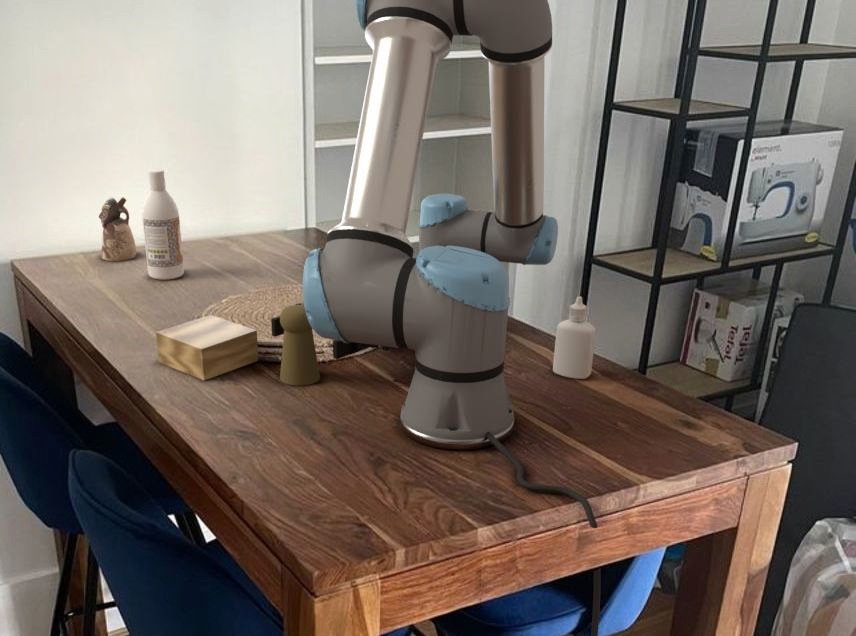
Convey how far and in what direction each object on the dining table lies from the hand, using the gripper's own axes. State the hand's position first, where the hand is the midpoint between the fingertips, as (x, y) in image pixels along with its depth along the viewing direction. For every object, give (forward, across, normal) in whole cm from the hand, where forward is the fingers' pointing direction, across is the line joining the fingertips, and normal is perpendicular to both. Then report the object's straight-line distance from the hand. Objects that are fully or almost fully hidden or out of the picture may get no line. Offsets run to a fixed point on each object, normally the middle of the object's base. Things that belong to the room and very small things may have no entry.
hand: (302, 338), depth 151 cm
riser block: (+6, +15, -6) cm, 17 cm away
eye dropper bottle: (-29, -28, -6) cm, 41 cm away
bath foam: (-16, +58, -6) cm, 60 cm away
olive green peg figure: (+1, 0, -6) cm, 6 cm away
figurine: (-17, +76, -6) cm, 78 cm away
